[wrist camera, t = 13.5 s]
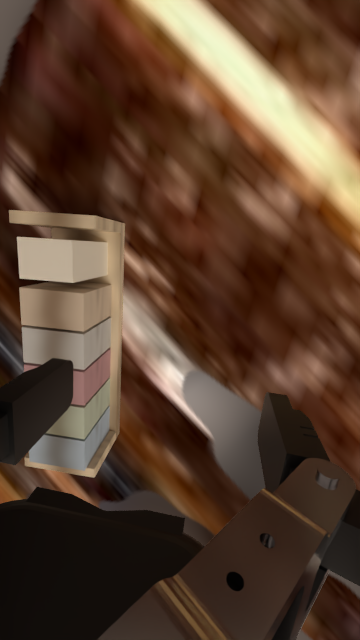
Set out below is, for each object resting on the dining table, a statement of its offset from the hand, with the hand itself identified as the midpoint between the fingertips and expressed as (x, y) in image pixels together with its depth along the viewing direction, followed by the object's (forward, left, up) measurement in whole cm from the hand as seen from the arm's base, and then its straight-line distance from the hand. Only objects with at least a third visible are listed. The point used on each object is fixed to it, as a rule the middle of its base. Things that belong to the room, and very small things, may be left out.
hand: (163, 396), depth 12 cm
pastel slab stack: (+7, -15, -27) cm, 31 cm away
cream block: (-4, -15, -25) cm, 30 cm away
